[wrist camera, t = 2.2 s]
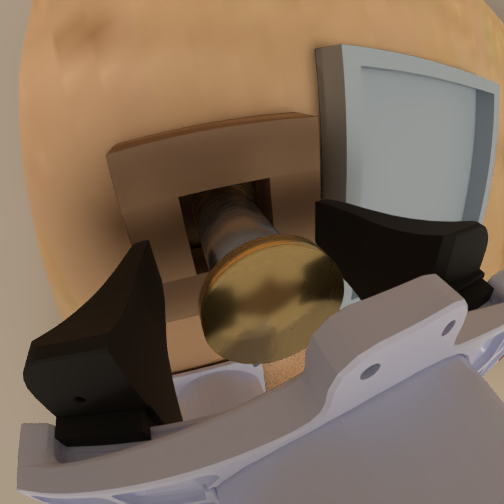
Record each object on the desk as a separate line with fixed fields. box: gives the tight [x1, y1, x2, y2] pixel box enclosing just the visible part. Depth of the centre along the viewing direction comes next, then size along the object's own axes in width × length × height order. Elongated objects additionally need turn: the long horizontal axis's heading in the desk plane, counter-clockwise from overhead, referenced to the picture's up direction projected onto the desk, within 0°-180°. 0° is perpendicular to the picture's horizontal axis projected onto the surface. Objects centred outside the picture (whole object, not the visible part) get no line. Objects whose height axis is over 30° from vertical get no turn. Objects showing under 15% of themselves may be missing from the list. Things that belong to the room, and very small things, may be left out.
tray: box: [315, 44, 499, 310], centre depth 17 cm, size 16×16×2 cm
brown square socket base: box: [106, 112, 321, 323], centre depth 14 cm, size 9×9×2 cm
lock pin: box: [192, 184, 344, 364], centre depth 12 cm, size 4×4×8 cm
